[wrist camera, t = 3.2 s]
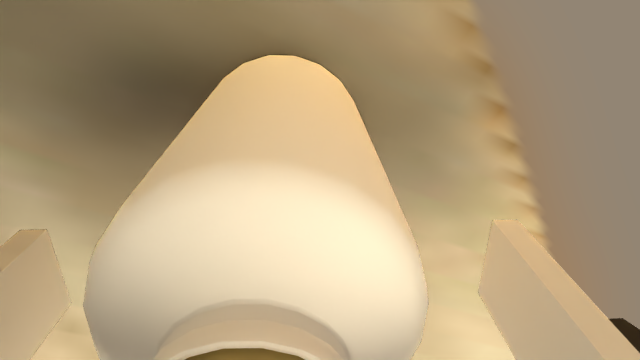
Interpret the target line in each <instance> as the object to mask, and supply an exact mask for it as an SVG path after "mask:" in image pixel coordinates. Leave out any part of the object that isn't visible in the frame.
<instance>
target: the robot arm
mask: <svg viewBox="0 0 640 360" xmlns="http://www.w3.org/2000/svg"><path fill="white" fill-rule="evenodd" d="M478 294H479V296H480V297H481V299H482V301H483V303H484V304H485V306H486V308H487V310H488V312H489V313H490V315H491V317H492V319H493V320H494V322H495V324H496V326H497V327H498V329H499V331H500V333H501V334H502V336H503V338H504V340H505V342H506V343H507V345H508V347H509V349H510V350H511V352H512V354H513V356H514V357H515V359H516V360H640V329H638V328H637V327H635V326H633V325H632V324H630V323H629V322H627V321H626V320H624V319H623V318H621V319H620V318H618V319H608V318H607V317H606V316H605V315H604V314H603V313H602V312H601V310H600V309H599V308H598V307H597V306H596V305H595V304H594V303H593V302H592V301H591V299H590V298H589V297H588V296H587V295H586V294H585V293H584V292H583V291H582V290H581V289H580V288H579V286H578V285H577V284H576V283H575V282H574V281H573V280H572V279H571V278H570V276H569V275H568V274H567V273H566V272H565V271H564V270H563V269H562V268H561V267H560V265H559V264H558V263H557V262H556V261H555V260H554V259H553V258H552V257H551V256H550V255H549V253H548V252H547V251H546V250H545V249H544V248H543V247H542V246H541V245H540V244H539V242H538V241H537V240H536V239H535V238H534V237H533V236H532V235H531V234H530V233H529V232H528V230H527V229H526V228H525V227H524V226H523V225H522V224H521V223H520V222H519V221H518V220H517V219H516V220H492V224H491V229H490V234H489V239H488V244H487V249H486V254H485V259H484V264H483V269H482V274H481V279H480V284H479V289H478ZM70 305H71V300H70V297H69V294H68V291H67V288H66V285H65V282H64V279H63V276H62V273H61V270H60V267H59V264H58V261H57V258H56V255H55V252H54V249H53V246H52V243H51V240H50V237H49V234H48V231H47V229H40V230H19V231H18V232H17V233H16V234H15V235H14V236H12V237H11V238H10V239H9V240H8V241H7V242H5V243H4V244H3V245H2V246H1V247H0V360H30V359H31V358H32V356H33V355H34V353H35V352H36V351H37V349H38V348H39V347H40V345H41V344H42V343H43V341H44V340H45V339H46V337H47V336H48V334H49V333H50V332H51V330H52V329H53V328H54V326H55V325H56V324H57V322H58V321H59V320H60V318H61V317H62V315H63V314H64V313H65V311H66V310H67V309H68V307H69V306H70Z"/></svg>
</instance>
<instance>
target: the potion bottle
mask: <svg viewBox="0 0 640 360" xmlns="http://www.w3.org/2000/svg"><path fill="white" fill-rule="evenodd" d="M83 307H84V311H85V314H86V318H87V321H88V325H89V328H90V332H91V335H92V339H93V342H94V346H95V348H96V351H97V354H98V356H99V359H100V360H411V358H412V356H413V355H414V353H415V351H416V350H417V348H418V347H419V345H420V343H421V341H422V335H423V330H424V325H425V319H426V314H427V308H428V293H427V285H426V281H425V276H424V272H423V268H422V263H421V259H420V254H419V250H418V246H417V244H416V241H415V239H414V237H413V234H412V232H411V230H410V228H409V225H408V223H407V221H406V219H405V216H404V214H403V212H402V209H401V207H400V205H399V203H398V200H397V198H396V196H395V194H394V191H393V189H392V187H391V184H390V182H389V180H388V178H387V175H386V173H385V171H384V169H383V166H382V164H381V162H380V159H379V157H378V155H377V153H376V150H375V148H374V146H373V144H372V141H371V139H370V137H369V134H368V132H367V130H366V128H365V125H364V123H363V121H362V119H361V116H360V114H359V112H358V109H357V107H356V105H355V103H354V101H353V99H352V98H351V96H350V95H349V93H348V92H347V90H346V88H345V87H344V85H343V84H342V82H341V81H340V80H339V79H338V78H336V77H335V76H334V75H333V74H331V73H330V72H329V71H328V70H326V69H325V68H324V67H322V66H321V65H320V64H317V63H314V62H311V61H308V60H306V59H303V58H300V57H297V56H284V55H268V56H265V57H261V58H258V59H255V60H252V61H249V62H245V63H243V64H242V65H240V66H239V67H238V68H236V69H235V70H234V71H232V72H231V73H230V74H228V75H227V76H226V77H224V78H223V79H222V81H221V82H220V83H219V84H218V86H217V87H216V88H215V89H214V91H213V92H212V93H211V94H210V96H209V97H208V98H207V99H206V101H205V102H204V103H203V104H202V106H201V107H200V108H199V109H198V111H197V112H196V113H195V114H194V116H193V117H192V118H191V119H190V121H189V122H188V123H187V124H186V126H185V127H184V128H183V129H182V131H181V132H180V133H179V134H178V136H177V137H176V138H175V139H174V141H173V142H172V143H171V144H170V146H169V147H168V148H167V149H166V151H165V152H164V153H163V154H162V156H161V157H160V158H159V159H158V161H157V162H156V163H155V164H154V166H153V167H152V168H151V169H150V171H149V172H148V173H147V174H146V176H145V177H144V178H143V179H142V181H141V182H140V183H139V184H138V186H137V187H136V188H135V189H134V191H133V192H132V193H131V194H130V196H129V197H128V198H127V199H126V201H125V202H124V203H123V204H122V206H121V207H120V209H119V210H118V212H117V213H116V215H115V216H114V218H113V219H112V221H111V222H110V224H109V226H108V227H107V229H106V230H105V232H104V233H103V235H102V236H101V238H100V239H99V241H98V243H97V244H96V246H95V248H94V251H93V254H92V256H91V259H90V262H89V268H88V275H87V282H86V288H85V295H84V302H83Z"/></svg>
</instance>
